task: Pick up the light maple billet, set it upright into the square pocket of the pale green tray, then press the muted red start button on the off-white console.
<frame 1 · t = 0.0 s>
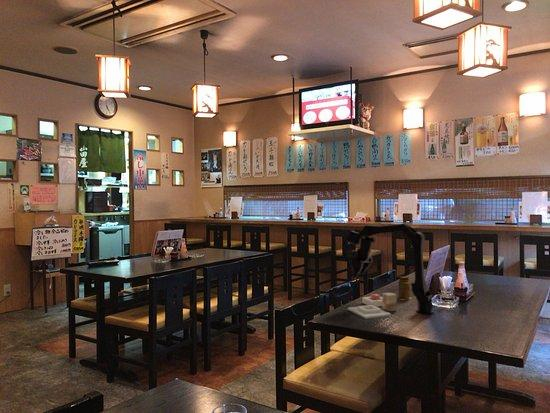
hand: (358, 275, 233), 15 cm above the table, tool pointing down, fingers open, 9 cm apart
start button: (375, 298, 233), point 3 cm above the table, slide at 0.0 cm
billet: (389, 309, 222), on the table
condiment: (402, 298, 246), on the table
button housing: (375, 304, 233), on the table
tray: (369, 312, 216), on the table
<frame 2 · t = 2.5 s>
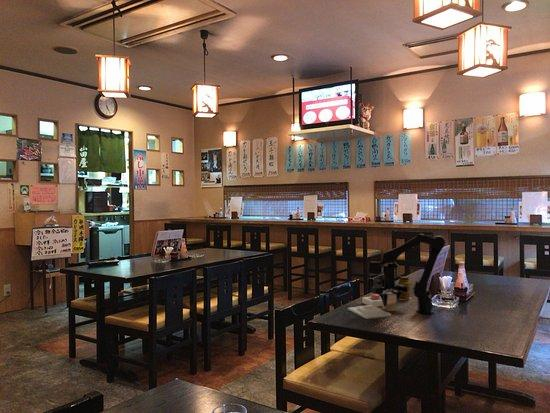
hand: (389, 305, 222), 2 cm above the table, tool pointing down, fingers closed on billet, 5 cm apart
billet: (389, 309, 222), on the table, touching gripper
everything else where it was.
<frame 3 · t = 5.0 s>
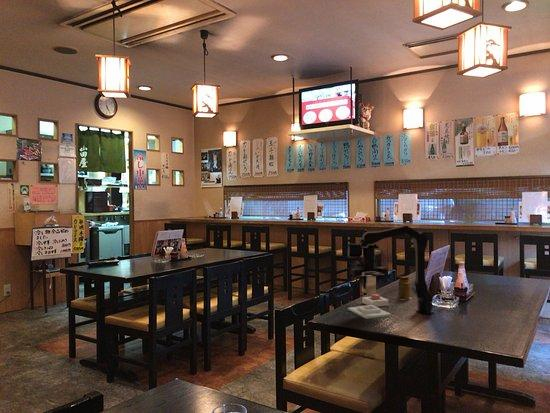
hand: (368, 288, 216), 12 cm above the table, tool pointing down, fingers closed on billet, 5 cm apart
billet: (368, 292, 216), point 10 cm above the table, touching gripper
everything else where it was.
when the fingers open (4 cm above the table, at t = 7.2 s): billet drops 1 cm, resting on tray.
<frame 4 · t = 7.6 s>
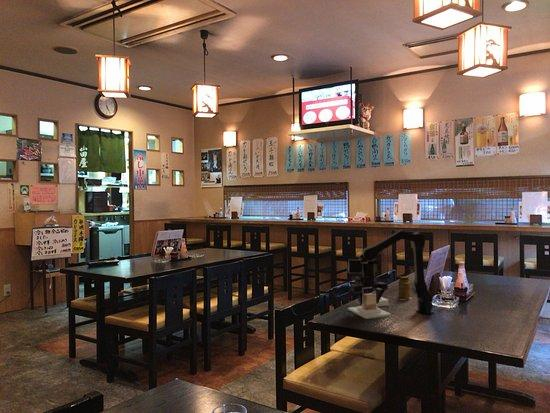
hand: (369, 304, 216), 4 cm above the table, tool pointing down, fingers open, 9 cm apart
billet: (369, 310, 216), point 1 cm above the table, touching tray
everything else where it was.
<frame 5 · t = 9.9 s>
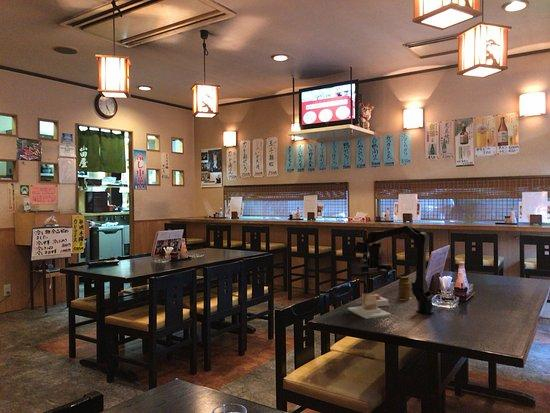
hand: (374, 284, 231), 11 cm above the table, tool pointing down, fingers open, 9 cm apart
nothing on the table moved.
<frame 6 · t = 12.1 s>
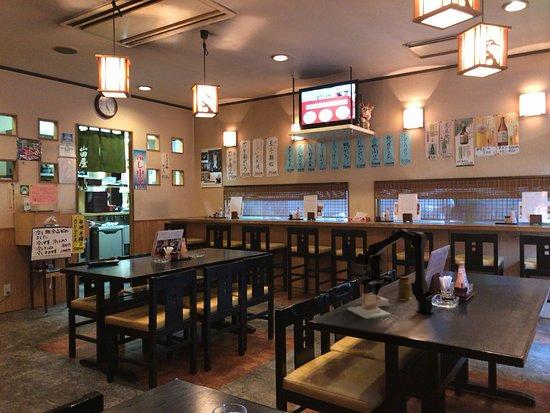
hand: (375, 296, 233), 4 cm above the table, tool pointing down, fingers closed, pressing on start button
start button: (375, 299, 233), point 3 cm above the table, slide at 0.6 cm, touching gripper
everything else where it was.
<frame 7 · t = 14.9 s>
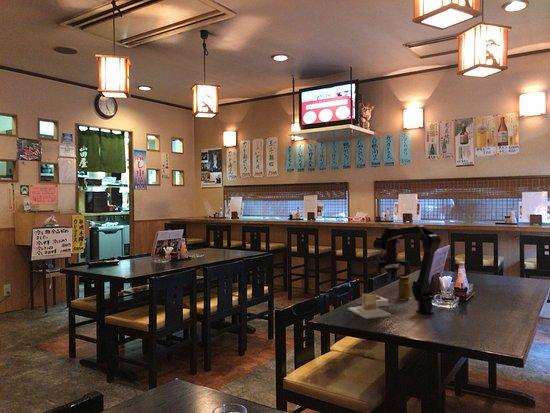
hand: (391, 280, 232), 13 cm above the table, tool pointing down, fingers closed
start button: (375, 299, 233), point 3 cm above the table, slide at 0.7 cm
everything else where it was.
at the end: billet 0.1 cm off-centre on the tray, point 1.0 cm above the tray's base; billet tilted 0°; start button slide at 0.7 cm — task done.
